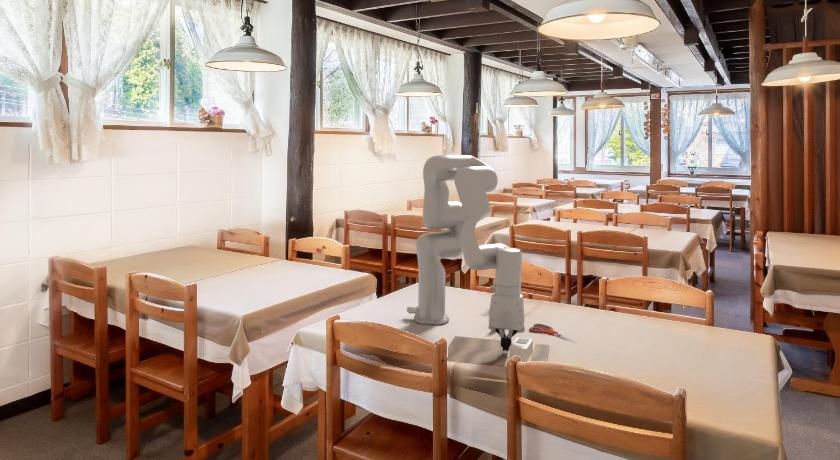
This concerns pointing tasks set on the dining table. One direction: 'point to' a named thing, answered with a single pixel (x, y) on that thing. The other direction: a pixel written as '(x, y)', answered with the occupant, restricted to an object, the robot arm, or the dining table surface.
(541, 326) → the scissors
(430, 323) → the robot arm
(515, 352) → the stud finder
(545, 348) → the subfloor panel
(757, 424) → the dining table surface
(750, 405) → the dining table surface
